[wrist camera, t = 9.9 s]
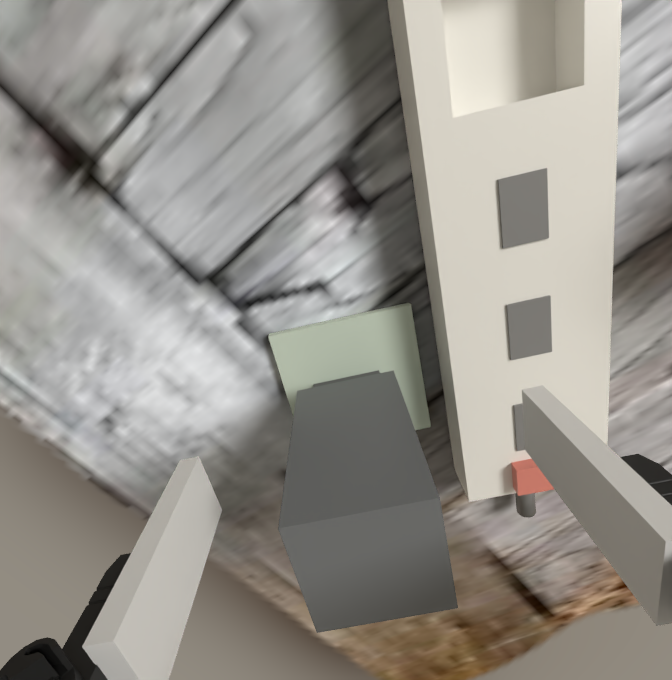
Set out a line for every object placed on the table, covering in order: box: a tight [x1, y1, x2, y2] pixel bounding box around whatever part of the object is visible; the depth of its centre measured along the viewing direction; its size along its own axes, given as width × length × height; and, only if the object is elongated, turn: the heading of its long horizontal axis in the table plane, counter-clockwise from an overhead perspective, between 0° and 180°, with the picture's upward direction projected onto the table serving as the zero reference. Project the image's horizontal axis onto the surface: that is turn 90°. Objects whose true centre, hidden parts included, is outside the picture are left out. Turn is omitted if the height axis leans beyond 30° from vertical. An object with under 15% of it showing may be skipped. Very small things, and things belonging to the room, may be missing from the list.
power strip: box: [387, 0, 622, 517], centre depth 17 cm, size 31×7×3 cm, turn 13°
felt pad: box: [268, 303, 431, 430], centre depth 20 cm, size 7×7×1 cm
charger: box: [278, 370, 458, 633], centre depth 16 cm, size 5×5×10 cm
